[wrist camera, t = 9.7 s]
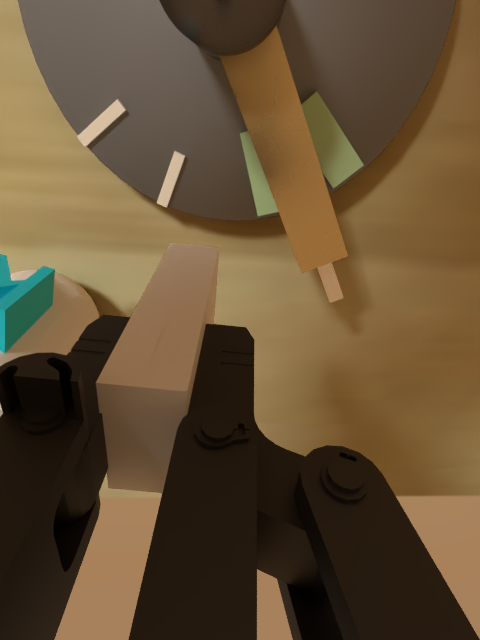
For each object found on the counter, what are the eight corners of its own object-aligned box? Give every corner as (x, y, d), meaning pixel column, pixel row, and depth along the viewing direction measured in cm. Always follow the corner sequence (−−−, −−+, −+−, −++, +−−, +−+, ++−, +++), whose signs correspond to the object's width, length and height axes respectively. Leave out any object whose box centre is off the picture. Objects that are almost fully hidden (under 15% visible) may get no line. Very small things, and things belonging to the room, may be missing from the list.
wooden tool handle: (163, -33, 17) (122, -88, 12) (261, -92, 16) (262, -180, 11) (293, 292, 25) (302, 345, 20) (366, 266, 24) (396, 314, 19)
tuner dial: (82, -493, 13) (56, -578, 11) (550, -142, 17) (582, -169, 15) (1, 121, 22) (-19, 124, 21) (312, 264, 26) (315, 275, 24)
